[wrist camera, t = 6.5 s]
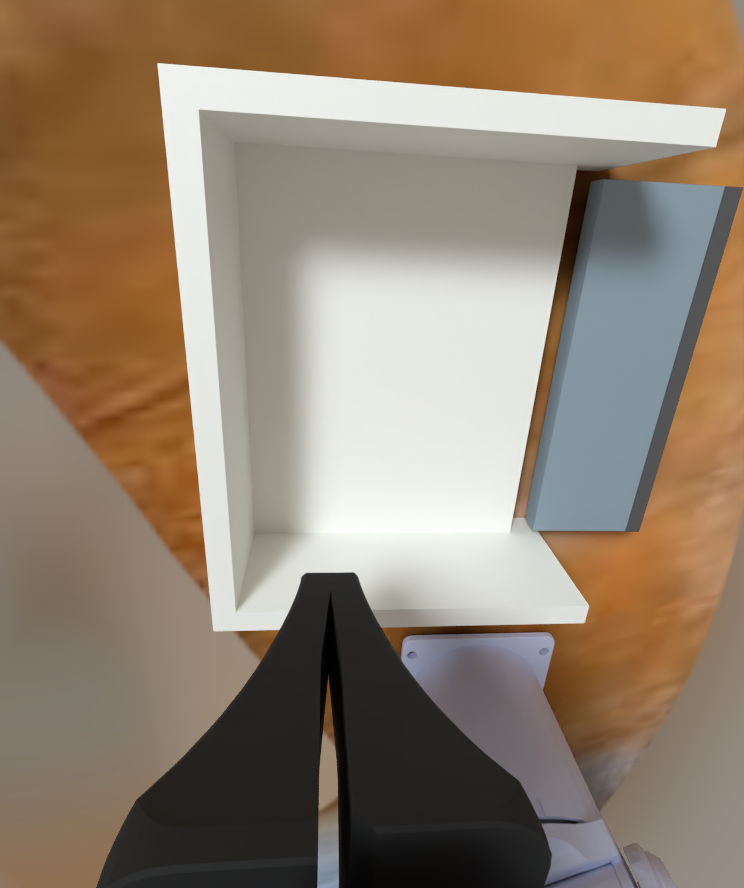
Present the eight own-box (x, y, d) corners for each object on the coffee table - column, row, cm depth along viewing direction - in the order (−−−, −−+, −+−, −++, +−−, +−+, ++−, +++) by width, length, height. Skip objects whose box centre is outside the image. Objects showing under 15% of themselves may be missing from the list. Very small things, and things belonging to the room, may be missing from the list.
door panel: (524, 517, 23) (625, 518, 23) (533, 531, 22) (638, 531, 22) (590, 181, 17) (720, 189, 18) (605, 178, 16) (742, 187, 17)
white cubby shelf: (525, 532, 24) (584, 623, 18) (240, 533, 23) (213, 631, 17) (602, 145, 18) (726, 109, 12) (214, 118, 16) (157, 63, 11)
